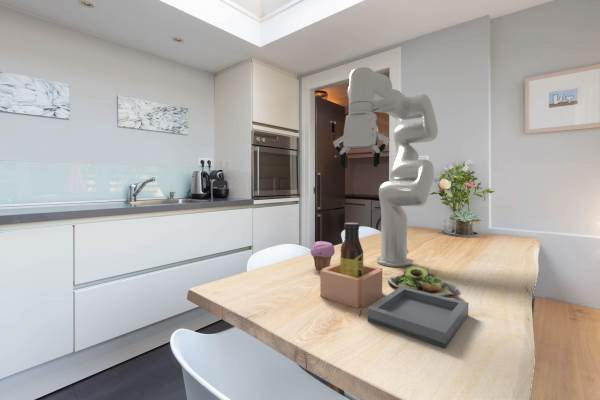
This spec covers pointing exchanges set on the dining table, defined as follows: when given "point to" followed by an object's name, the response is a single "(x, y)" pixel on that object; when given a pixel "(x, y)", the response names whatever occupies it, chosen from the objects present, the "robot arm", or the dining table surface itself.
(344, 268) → the sauce bottle
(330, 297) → the square terracotta planter
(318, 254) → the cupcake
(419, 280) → the salad plate
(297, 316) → the dining table surface
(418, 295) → the tray
